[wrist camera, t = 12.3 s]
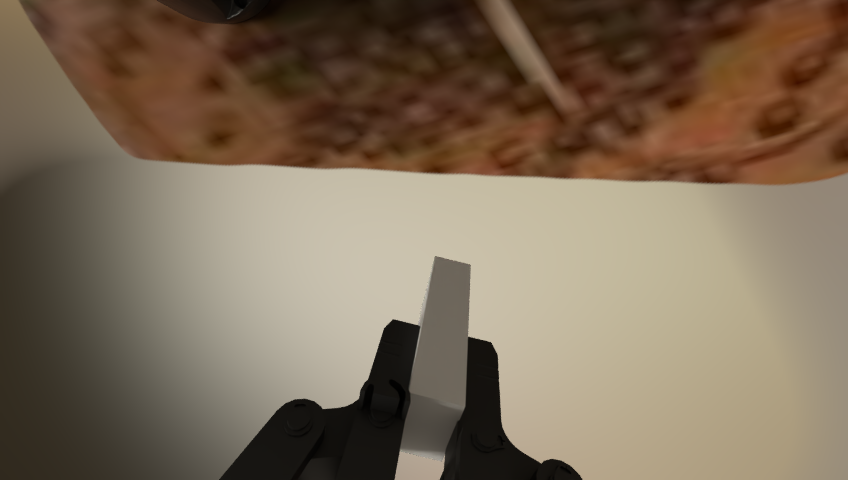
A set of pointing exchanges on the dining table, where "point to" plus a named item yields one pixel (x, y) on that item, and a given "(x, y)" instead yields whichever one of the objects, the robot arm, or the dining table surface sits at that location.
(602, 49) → the dining table surface
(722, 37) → the dining table surface
